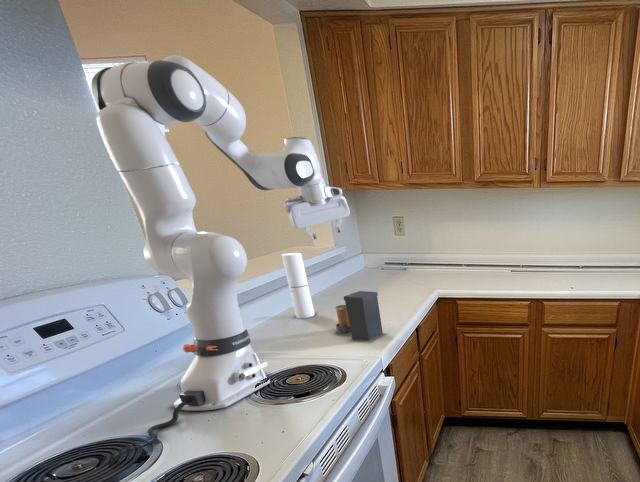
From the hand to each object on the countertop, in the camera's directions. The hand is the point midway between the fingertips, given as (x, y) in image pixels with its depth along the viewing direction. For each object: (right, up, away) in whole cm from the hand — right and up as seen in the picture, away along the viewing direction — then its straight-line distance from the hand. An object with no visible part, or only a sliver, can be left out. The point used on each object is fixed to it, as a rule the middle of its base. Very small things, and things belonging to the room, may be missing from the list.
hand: (326, 235), depth 144 cm
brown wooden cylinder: (+5, -32, +7) cm, 33 cm away
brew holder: (+5, -33, +7) cm, 34 cm away
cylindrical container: (-21, -24, +29) cm, 43 cm away
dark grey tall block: (+14, -35, 0) cm, 38 cm away
